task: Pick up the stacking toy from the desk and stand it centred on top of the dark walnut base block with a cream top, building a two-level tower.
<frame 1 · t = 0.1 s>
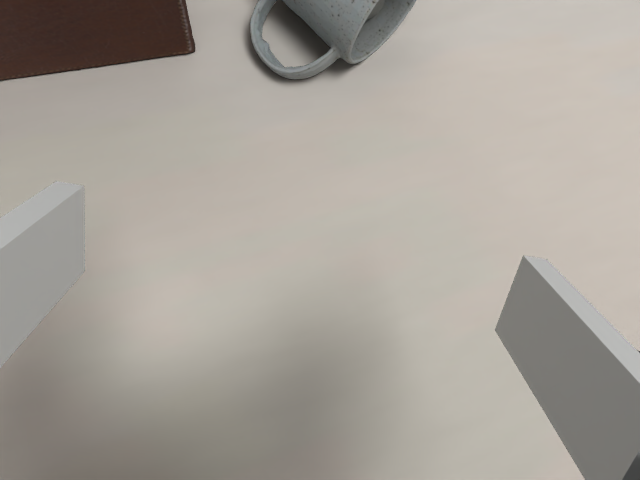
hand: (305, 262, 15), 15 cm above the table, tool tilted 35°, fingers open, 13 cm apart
ceramic mug: (324, 27, 34), on the table
letter holder: (26, 10, 32), on the table
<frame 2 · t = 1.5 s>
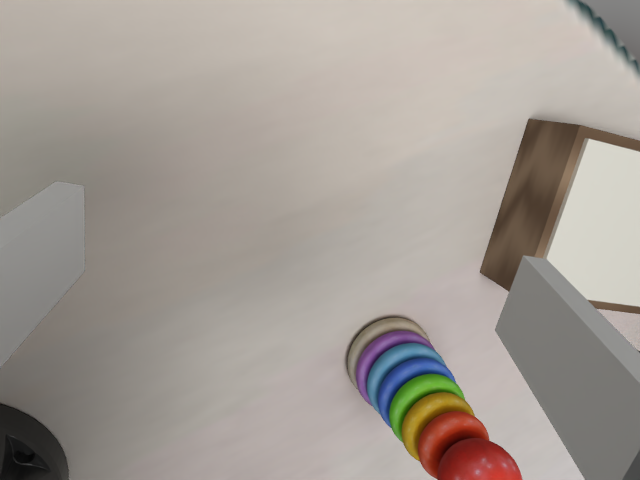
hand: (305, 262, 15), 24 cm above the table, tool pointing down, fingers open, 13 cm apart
stacking toy: (385, 352, 46), on the table
base block: (566, 211, 47), on the table
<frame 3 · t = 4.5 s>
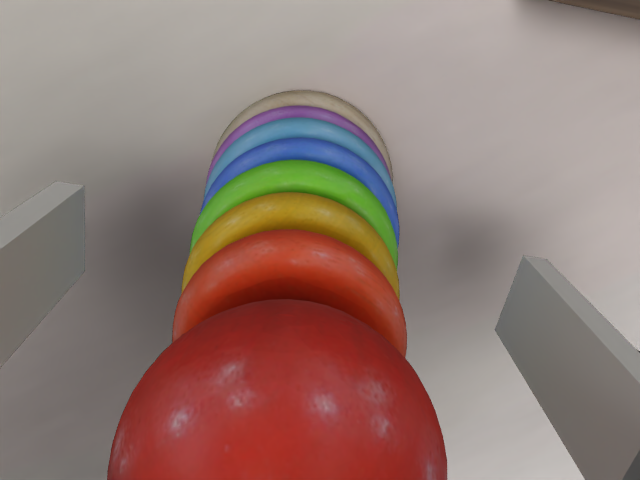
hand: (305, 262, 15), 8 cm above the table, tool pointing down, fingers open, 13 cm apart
stacking toy: (301, 177, 23), on the table
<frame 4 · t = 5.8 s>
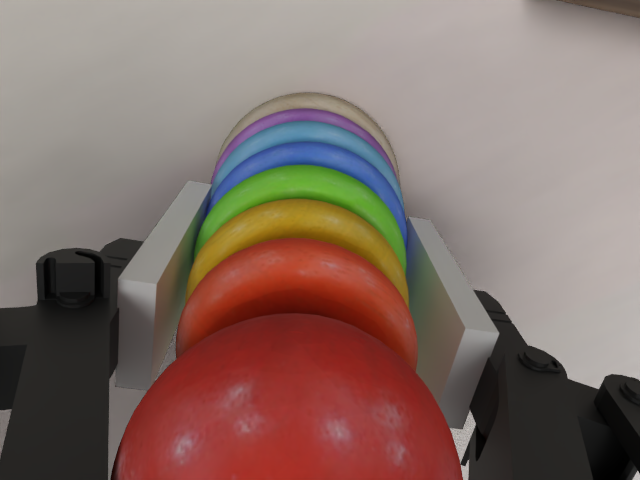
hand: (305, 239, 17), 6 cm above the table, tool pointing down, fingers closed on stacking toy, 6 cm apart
stacking toy: (307, 180, 23), on the table, touching gripper
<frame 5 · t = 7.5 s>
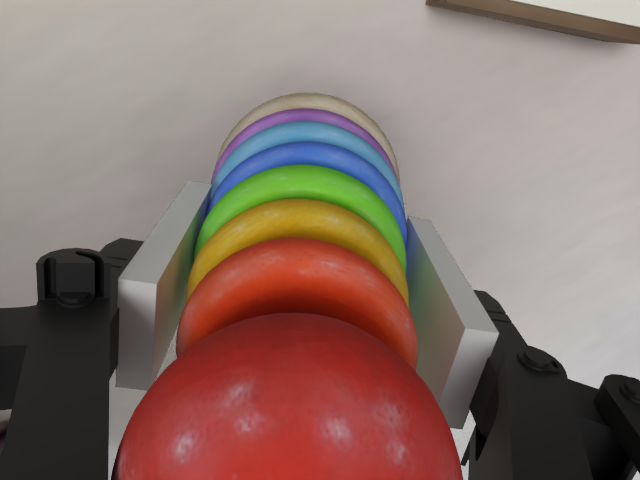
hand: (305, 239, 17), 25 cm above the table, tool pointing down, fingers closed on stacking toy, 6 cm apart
stacking toy: (307, 180, 23), point 18 cm above the table, touching gripper
when the fingers open (14 cm above the table, at t = 11.7 s): stacking toy drops 1 cm, resting on base block.
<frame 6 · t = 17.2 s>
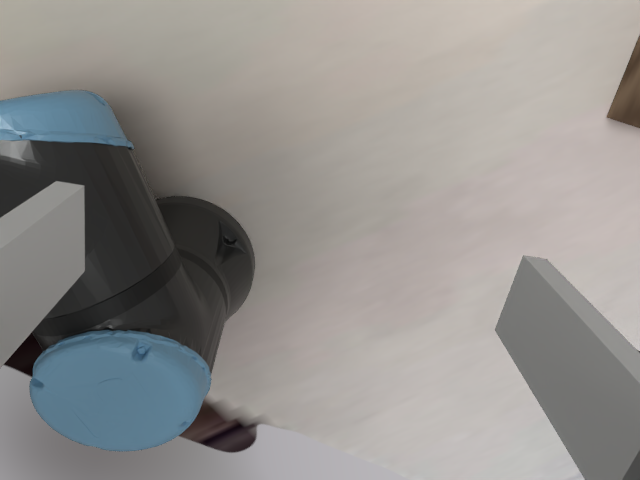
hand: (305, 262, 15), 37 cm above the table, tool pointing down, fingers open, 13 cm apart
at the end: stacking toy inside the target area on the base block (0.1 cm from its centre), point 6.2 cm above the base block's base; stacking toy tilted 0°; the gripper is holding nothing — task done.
